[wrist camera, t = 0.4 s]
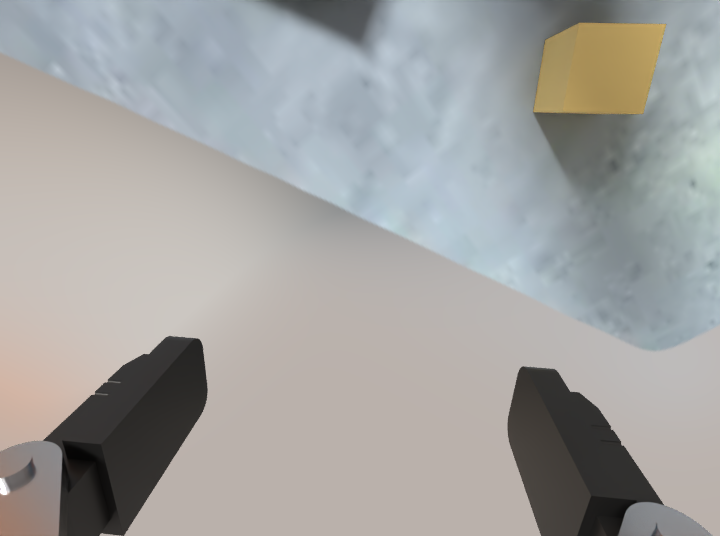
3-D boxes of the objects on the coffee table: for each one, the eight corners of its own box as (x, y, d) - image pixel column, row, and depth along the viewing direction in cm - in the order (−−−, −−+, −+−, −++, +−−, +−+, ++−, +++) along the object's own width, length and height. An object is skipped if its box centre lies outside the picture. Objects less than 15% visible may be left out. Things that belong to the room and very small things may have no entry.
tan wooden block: (545, 39, 30) (579, 22, 24) (615, 41, 30) (666, 24, 24) (533, 112, 32) (562, 111, 26) (599, 114, 31) (642, 113, 26)
